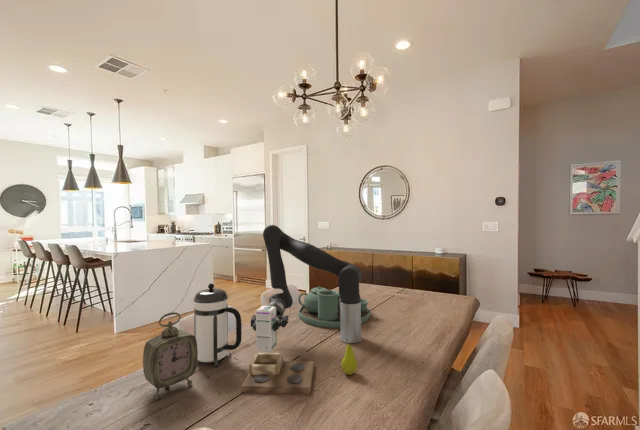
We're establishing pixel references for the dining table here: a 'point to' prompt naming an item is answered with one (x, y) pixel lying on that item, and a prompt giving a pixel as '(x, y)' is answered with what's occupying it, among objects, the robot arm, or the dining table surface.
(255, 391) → the wooden board with discs
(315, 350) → the dining table surface
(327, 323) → the tea set
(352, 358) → the fruit
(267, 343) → the syrup box
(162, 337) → the tabletop clock
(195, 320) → the coffee press
